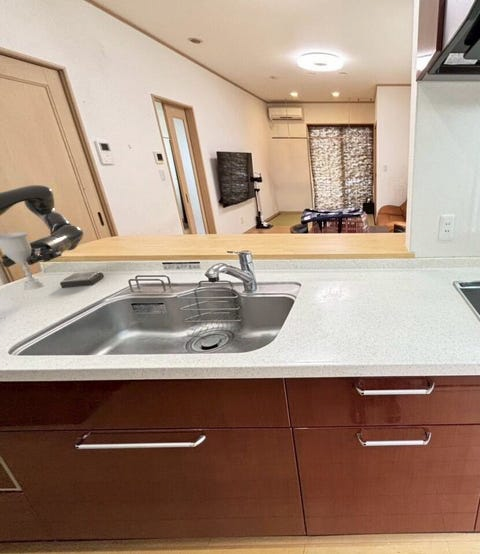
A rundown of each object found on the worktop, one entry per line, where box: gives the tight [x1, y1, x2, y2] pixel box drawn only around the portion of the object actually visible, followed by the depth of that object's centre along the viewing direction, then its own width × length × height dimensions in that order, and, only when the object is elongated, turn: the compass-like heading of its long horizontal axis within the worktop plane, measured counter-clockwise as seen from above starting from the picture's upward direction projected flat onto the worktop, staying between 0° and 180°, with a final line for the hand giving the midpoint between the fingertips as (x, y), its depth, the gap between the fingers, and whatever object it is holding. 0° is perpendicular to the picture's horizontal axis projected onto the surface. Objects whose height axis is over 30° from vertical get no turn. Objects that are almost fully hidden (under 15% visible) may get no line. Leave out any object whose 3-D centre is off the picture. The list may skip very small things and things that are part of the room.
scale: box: [59, 270, 105, 289], centre depth 120 cm, size 10×9×3 cm
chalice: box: [0, 231, 46, 291], centre depth 96 cm, size 7×7×18 cm
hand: (17, 263), depth 94 cm, fingers closed on chalice, 5 cm apart
